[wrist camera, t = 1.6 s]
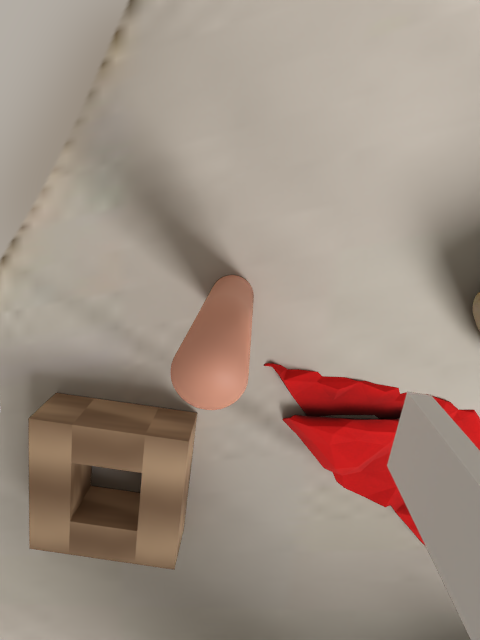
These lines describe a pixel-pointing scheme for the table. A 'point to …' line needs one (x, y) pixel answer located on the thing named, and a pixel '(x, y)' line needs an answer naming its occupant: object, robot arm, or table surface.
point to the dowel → (217, 347)
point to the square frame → (104, 503)
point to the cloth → (358, 431)
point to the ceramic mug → (477, 310)
